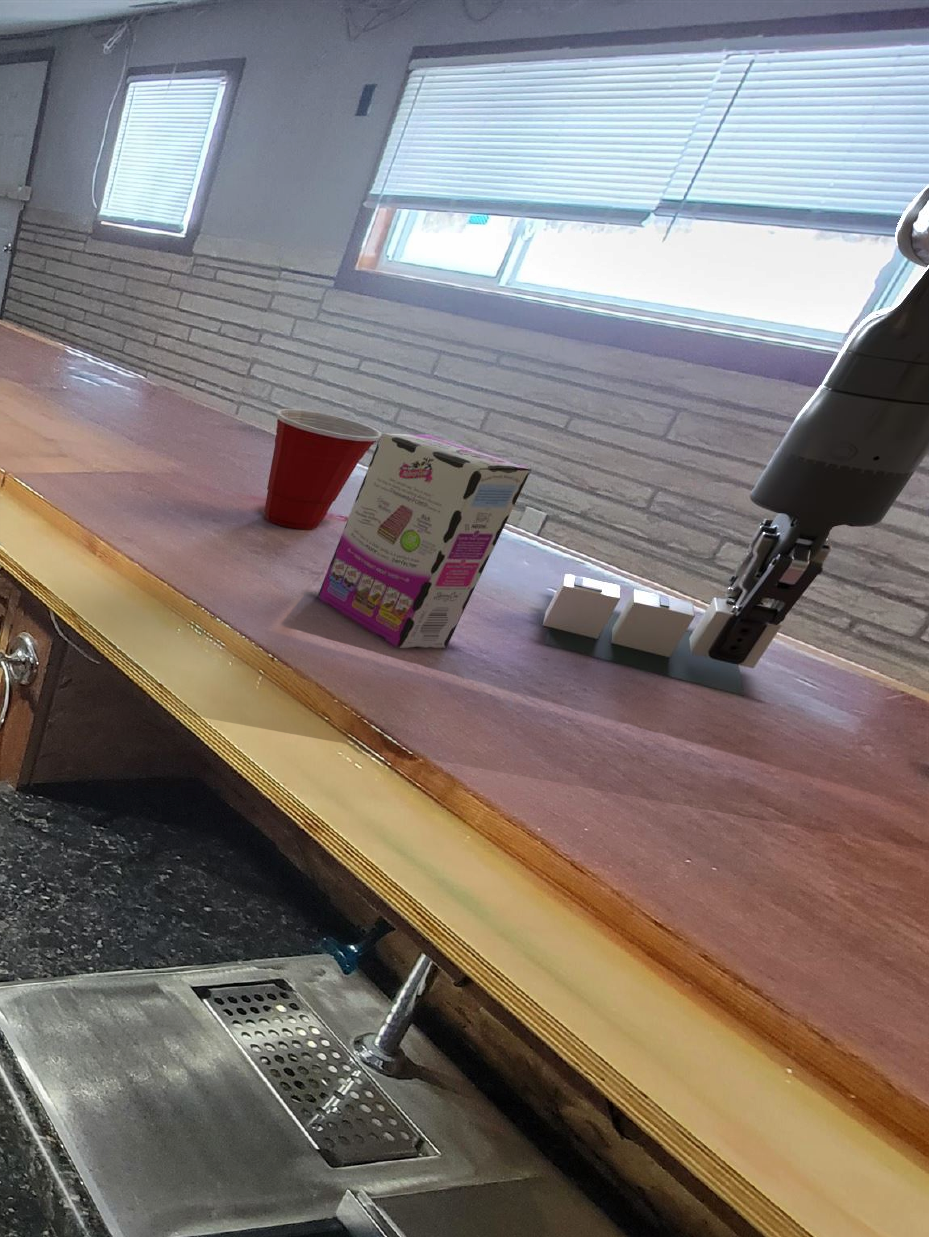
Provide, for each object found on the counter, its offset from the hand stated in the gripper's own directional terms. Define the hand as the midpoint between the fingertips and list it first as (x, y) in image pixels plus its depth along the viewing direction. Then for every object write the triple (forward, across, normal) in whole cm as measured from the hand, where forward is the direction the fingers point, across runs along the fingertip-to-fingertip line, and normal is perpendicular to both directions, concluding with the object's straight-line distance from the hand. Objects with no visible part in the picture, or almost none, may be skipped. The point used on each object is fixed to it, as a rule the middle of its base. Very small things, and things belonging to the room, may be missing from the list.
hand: (722, 650), depth 84 cm
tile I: (+1, 0, +5) cm, 5 cm away
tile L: (+1, 0, +10) cm, 10 cm away
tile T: (0, 0, 0) cm, 0 cm away
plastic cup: (+2, +15, +36) cm, 39 cm away
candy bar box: (+2, -12, +24) cm, 26 cm away
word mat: (+2, 0, +5) cm, 5 cm away
